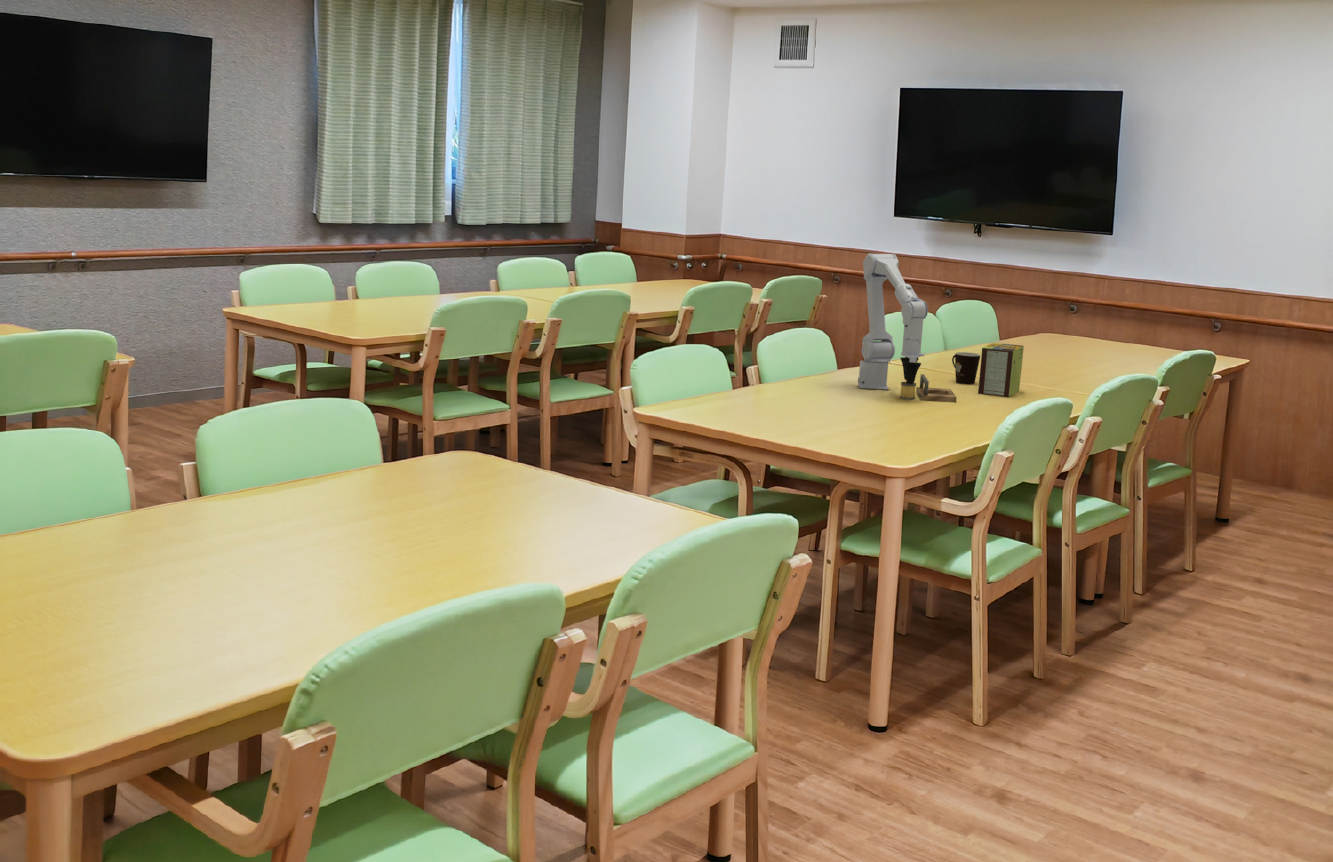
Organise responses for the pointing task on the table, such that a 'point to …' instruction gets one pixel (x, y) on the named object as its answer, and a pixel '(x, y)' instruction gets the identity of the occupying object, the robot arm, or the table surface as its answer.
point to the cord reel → (907, 391)
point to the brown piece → (934, 392)
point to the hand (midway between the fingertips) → (908, 381)
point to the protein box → (1000, 369)
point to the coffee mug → (966, 367)
